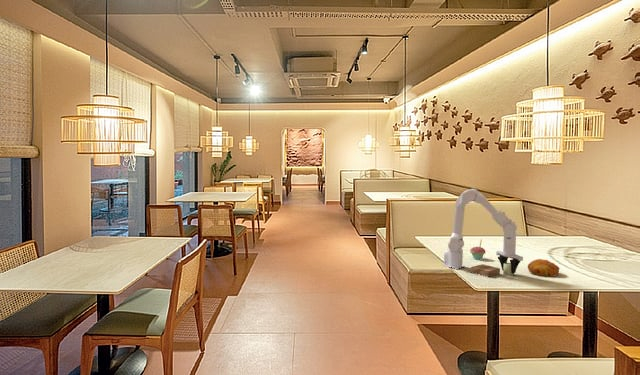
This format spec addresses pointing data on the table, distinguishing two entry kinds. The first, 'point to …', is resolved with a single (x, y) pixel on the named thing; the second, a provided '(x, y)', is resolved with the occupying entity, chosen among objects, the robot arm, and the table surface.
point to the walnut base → (485, 270)
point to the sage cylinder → (507, 269)
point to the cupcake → (477, 251)
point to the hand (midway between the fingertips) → (508, 271)
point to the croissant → (543, 268)
